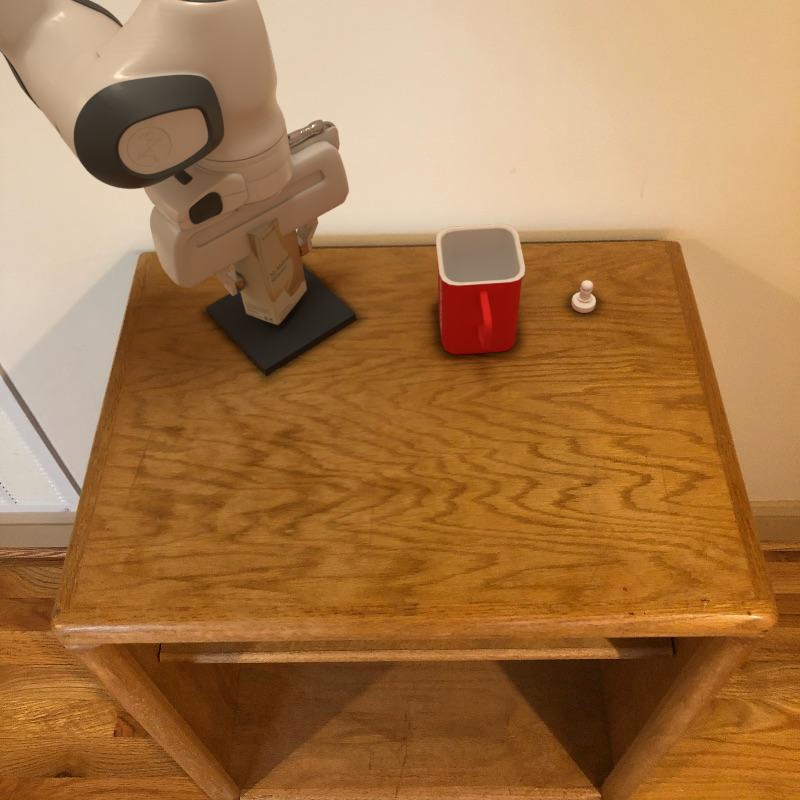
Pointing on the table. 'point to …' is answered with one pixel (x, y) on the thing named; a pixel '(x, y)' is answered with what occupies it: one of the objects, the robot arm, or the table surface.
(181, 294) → the table surface
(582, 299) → the chess pawn
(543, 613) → the table surface
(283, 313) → the cosmetic box
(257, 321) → the rubber mat
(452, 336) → the mug
